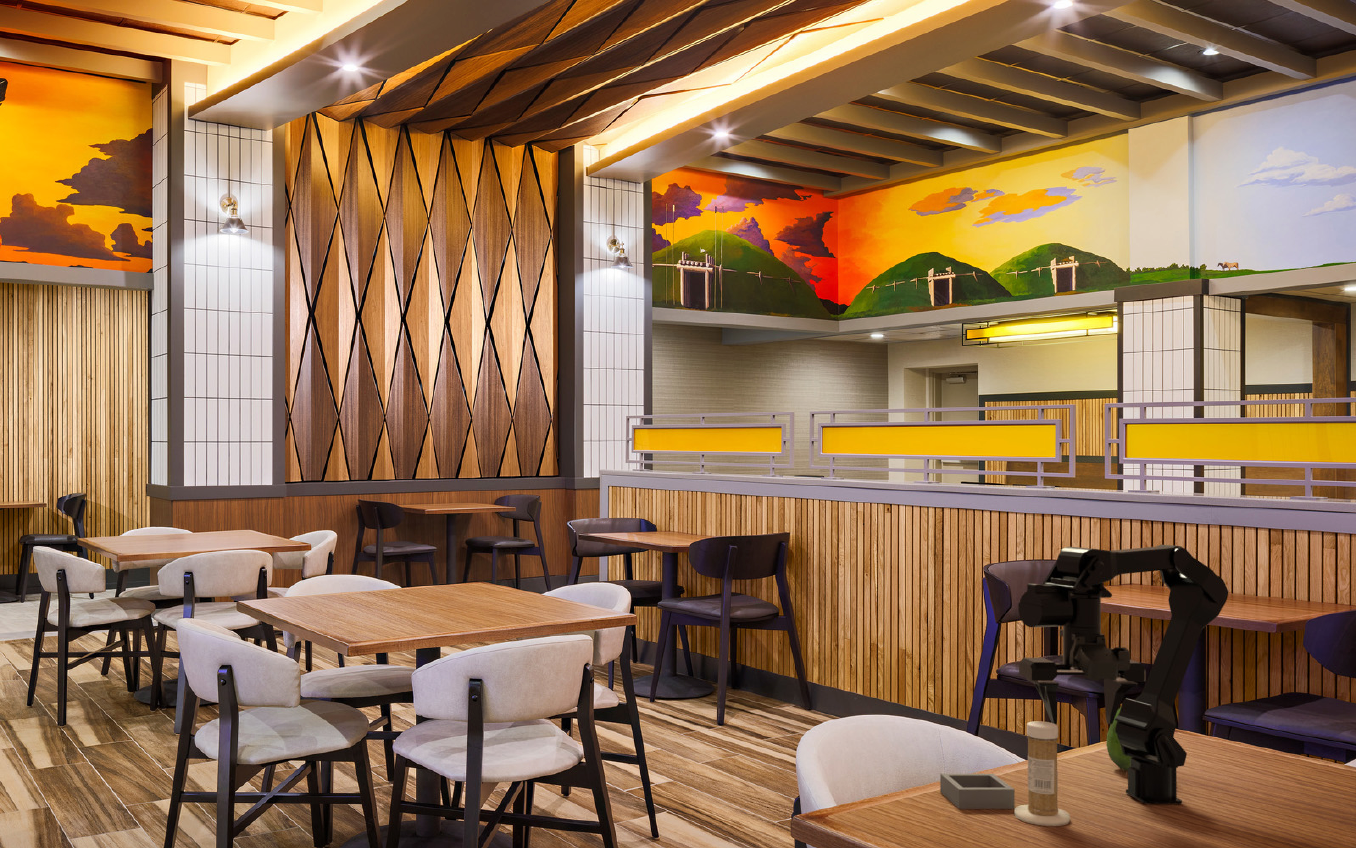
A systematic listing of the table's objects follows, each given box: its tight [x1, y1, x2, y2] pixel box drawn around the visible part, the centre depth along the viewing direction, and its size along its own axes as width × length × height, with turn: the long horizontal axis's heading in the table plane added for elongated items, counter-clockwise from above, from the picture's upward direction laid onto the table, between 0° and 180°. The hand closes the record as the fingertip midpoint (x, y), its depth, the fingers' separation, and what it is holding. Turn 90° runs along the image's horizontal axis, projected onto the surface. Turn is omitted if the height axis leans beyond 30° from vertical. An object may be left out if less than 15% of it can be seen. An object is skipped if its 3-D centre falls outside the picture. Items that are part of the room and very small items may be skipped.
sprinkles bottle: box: [1026, 720, 1059, 816], centre depth 162 cm, size 5×5×14 cm
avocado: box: [1105, 706, 1133, 772], centre depth 190 cm, size 8×8×12 cm
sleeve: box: [939, 773, 1016, 810], centre depth 170 cm, size 9×9×3 cm
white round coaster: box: [1014, 804, 1071, 827], centre depth 162 cm, size 8×8×1 cm
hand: (1081, 724), depth 169 cm, fingers open, 9 cm apart
